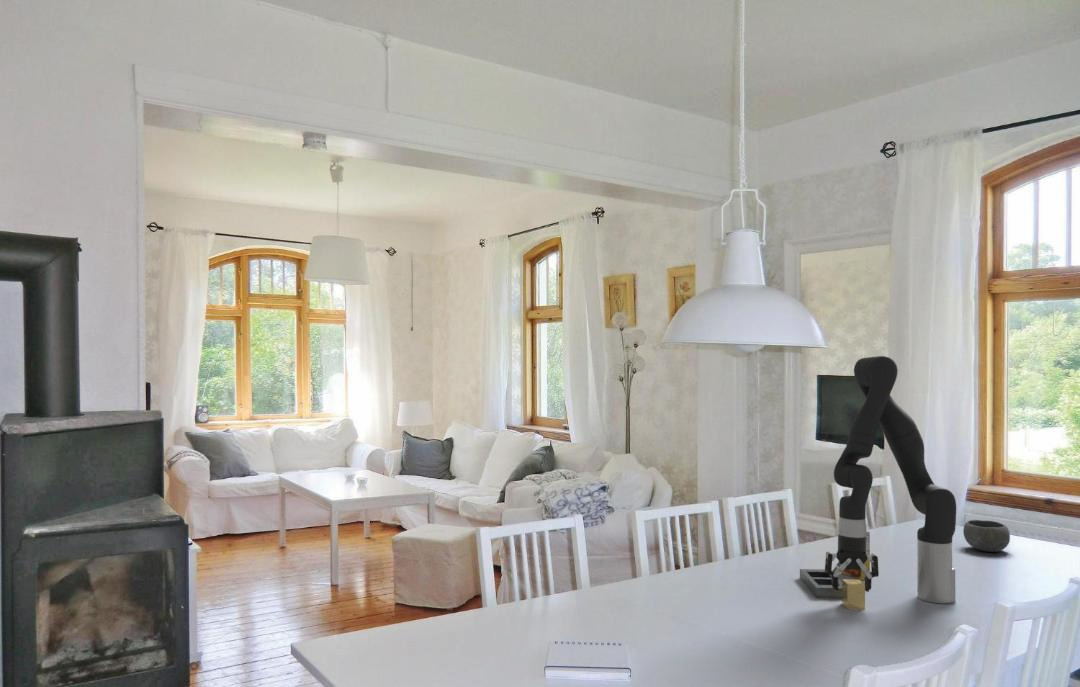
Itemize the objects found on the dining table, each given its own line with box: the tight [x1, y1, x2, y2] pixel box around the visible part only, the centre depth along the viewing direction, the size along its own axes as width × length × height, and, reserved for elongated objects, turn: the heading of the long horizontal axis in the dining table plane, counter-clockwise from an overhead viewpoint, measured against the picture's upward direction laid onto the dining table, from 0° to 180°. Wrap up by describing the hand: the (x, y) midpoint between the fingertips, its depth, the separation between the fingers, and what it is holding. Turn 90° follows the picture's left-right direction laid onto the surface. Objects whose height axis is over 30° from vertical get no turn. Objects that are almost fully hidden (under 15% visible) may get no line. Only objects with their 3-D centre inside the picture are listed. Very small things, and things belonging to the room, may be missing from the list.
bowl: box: [962, 519, 1011, 553], centre depth 286 cm, size 15×15×10 cm
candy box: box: [841, 531, 871, 581], centre depth 252 cm, size 9×4×15 cm, turn 23°
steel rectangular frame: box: [799, 568, 842, 599], centre depth 239 cm, size 9×20×3 cm, turn 175°
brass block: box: [841, 578, 866, 610], centre depth 222 cm, size 5×5×7 cm
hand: (851, 590), depth 222 cm, fingers open, 8 cm apart
